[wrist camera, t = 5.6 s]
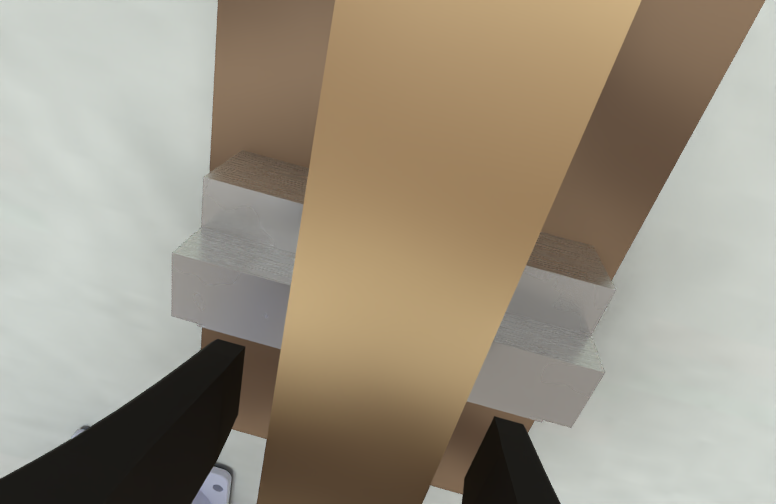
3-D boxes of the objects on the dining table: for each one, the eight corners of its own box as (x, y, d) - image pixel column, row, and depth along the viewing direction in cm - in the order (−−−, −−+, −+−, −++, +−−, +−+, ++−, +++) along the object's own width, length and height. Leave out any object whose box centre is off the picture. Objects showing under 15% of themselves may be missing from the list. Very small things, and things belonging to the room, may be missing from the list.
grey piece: (531, 367, 17) (549, 463, 13) (231, 283, 17) (171, 357, 14) (593, 246, 14) (634, 324, 11) (242, 150, 15) (172, 198, 11)
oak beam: (352, 582, 18) (324, 727, 14) (273, 559, 18) (226, 699, 14) (638, -197, 7) (813, -395, 3) (439, -249, 7) (412, -495, 4)
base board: (488, 481, 21) (489, 501, 21) (208, 402, 22) (197, 419, 21) (756, -25, 12) (780, -27, 11) (244, -160, 12) (226, -171, 11)
